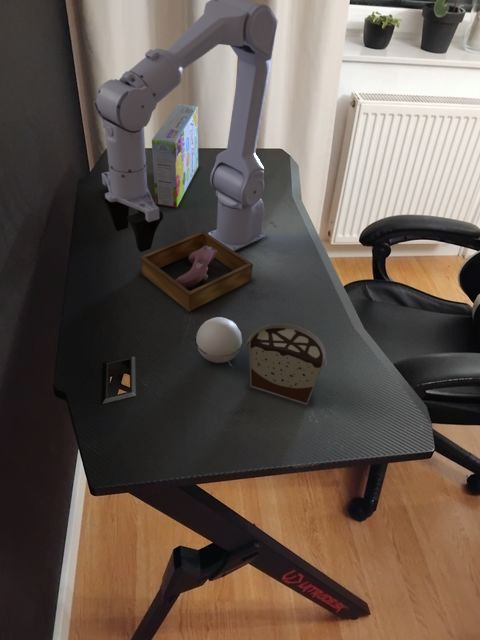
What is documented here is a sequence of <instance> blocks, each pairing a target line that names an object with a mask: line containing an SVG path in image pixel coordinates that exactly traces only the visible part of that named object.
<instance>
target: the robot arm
mask: <svg viewBox="0 0 480 640" xmlns="http://www.w3.org/2000/svg"><path fill="white" fill-rule="evenodd" d="M278 24H279V20H278V18H277V16H276V15H275V13H274V11H273V10H272V8H271V7H270V6H269V5H267V4H264V3H258V2H255V1H252V0H209V1H207V2H206V3H205V5H204V10H203V14H202V15H201V16H200V17H199V18H198V19H196V21H195V22H194V23H193V24H192V25H191V26H190V27H188V29H187V30H186V31H185V32H184V33H183V34H182V35H181V36H180V37H179V38H178V39H177V40H175V42H174V43H173V44H172V45H171V46H169V48H168V49H166V50H165V49H162V48H155V49H149V50H147V52H145V54H144V56H145V57H144V58H143V59H141V60H140V61H138V62H137V63H136V64H135V65H134V66H132V68H130V69H129V70H128V71H125V72H124V73H123V74H122V75H121V76H120V78H119V79H117V78H115V79H113V78H112V79H109V80H107V81H105V82H104V83H102V84H101V85H100V87H99V88H98V90H97V93H96V97H95V98H96V99H95V100H94V101H93V107H94V110H95V112H96V114H97V115H98V116H99V117H100V118H101V120H102V128H103V129H104V133H105V142H106V143H105V144H106V154H107V162H108V163H107V164H108V171H105V172H102V173H101V180H102V185H104V187H105V189H101V190H99V191H98V196H99V197H100V199H101V200H102V202H103V203H104V206H105V207H106V210H107V211H108V214H109V216H110V219H111V221H112V224H113V227H114V229H115V231H117V232H120V231H122V230H126V229H128V228H129V224H130V226H131V228H132V231H133V234H134V237H135V244H136V248H137V250H138V252H139V253H144V252H146V251H148V250H151V249H152V245H153V241H154V237H155V234H156V231H157V229H158V227H159V224H160V223H161V222H162V220H163V219H164V212H162V211H161V210H160V208H159V206H158V205H156V204H155V200H154V199H153V197H152V194H151V192H150V190H149V188H148V177H147V160H146V159H147V158H146V137H145V127H147V126H148V125H149V122H150V121H151V118H152V115H153V112H154V111H155V110H156V108H157V106H158V103H160V102H161V101H162V100H163V99H164V98H165V97H167V96H168V95H169V94H170V93H171V92H172V91H173V90H175V89H176V88H177V87H178V86H179V85H180V84H181V82H182V80H183V79H182V78H183V71H184V70H186V69H187V68H188V67H190V66H192V65H193V64H194V63H195V62H196V61H198V60H199V59H200V58H202V57H203V56H205V55H206V54H207V53H209V52H210V51H211V50H213V49H215V48H216V47H217V46H219V45H223V46H230V48H231V49H232V51H233V52H234V53H235V55H236V57H237V58H238V68H237V76H236V82H235V90H234V97H233V103H232V111H231V119H230V124H229V132H228V139H227V145H226V146H227V147H226V149H225V150H223V151H220V152H219V153H218V154H217V155H216V157H215V163H214V166H213V168H212V170H211V173H210V177H209V182H210V186H211V187H212V189H214V190H215V196H216V197H217V211H216V212H217V213H216V229H213V230H211V231H209V232H207V234H209V235H210V236H212V237H213V238H215V239H216V240H218V241H219V242H221V243H222V244H224V245H225V246H227V247H228V248H230V249H231V250H233V251H234V252H236V251H238V250H241V249H242V248H244V247H247V246H249V245H251V244H253V243H255V242H258V241H260V240H262V239H264V238H265V234H264V233H263V228H264V227H263V226H264V217H265V205H264V201H263V199H262V197H263V195H264V192H265V180H264V175H265V167H264V165H263V164H262V162H261V160H260V159H259V157H258V156H257V154H256V152H257V146H258V141H259V135H260V130H261V129H260V128H261V123H262V118H263V113H264V107H265V100H266V94H267V88H268V83H269V78H270V77H269V76H270V73H271V72H270V70H271V66H272V59H273V54H274V53H273V52H274V47H275V41H276V35H277V31H278ZM130 208H131V209H135V210H137V213H133V214H130Z"/></svg>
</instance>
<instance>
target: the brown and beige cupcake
mask: <svg viewBox="0 0 480 640" xmlns="http://www.w3.org/2000/svg"><path fill="white" fill-rule="evenodd" d="M247 347H248V356H249V357H248V359H249V361H248V362H249V387H250V388H252V389H255V390H259V391H261V392H265V393H268V394H271V395H274V396H277V397H280V398H282V399H286V400H288V401H289V400H290V401H292V402H295V403H298V404H302V405H305V406H308V404H309V402H310V399H311V397H312V394H313V392H314V390H315V387H316V384H317V382H318V379H319V376H320V374H321V372H322V369H323V371H324V373H326V372H327V362H328V361H327V353H326V352H327V351H326V349H325V346H324V344H323V342H322V341H321V339H320V338H319V337H318V336H317V335H315V334H314V333H313V332H311V331H310V330H308V329H306V328H304V327H301V326H299V325H295V324H290V323H271V324H267V325H264V326H262V327H259V328H257V330H254V332H253V333H252V334H251V335H250V336H249V338H248V339H247V341H246V343H245V345H244V348H247Z"/></svg>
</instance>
